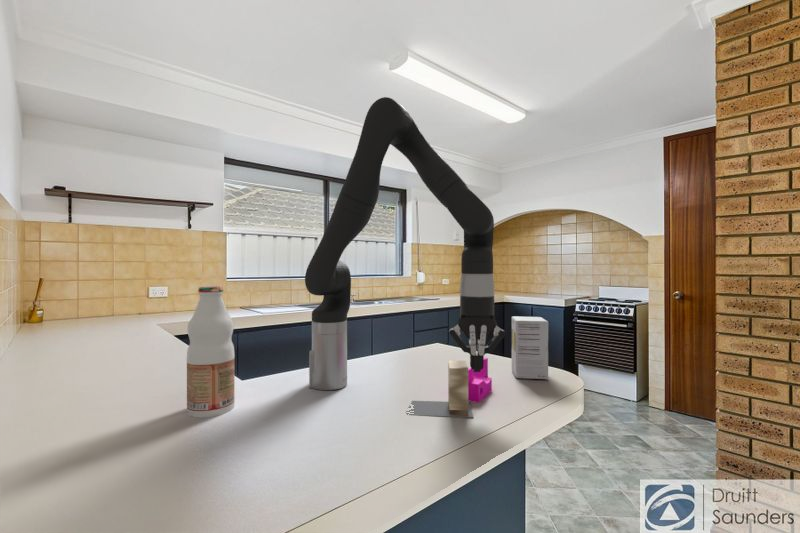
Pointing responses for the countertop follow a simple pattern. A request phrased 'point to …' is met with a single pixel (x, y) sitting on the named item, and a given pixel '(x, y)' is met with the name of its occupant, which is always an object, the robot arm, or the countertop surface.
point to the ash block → (458, 387)
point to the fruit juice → (210, 357)
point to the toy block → (479, 383)
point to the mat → (435, 409)
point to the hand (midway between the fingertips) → (476, 371)
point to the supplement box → (530, 347)
